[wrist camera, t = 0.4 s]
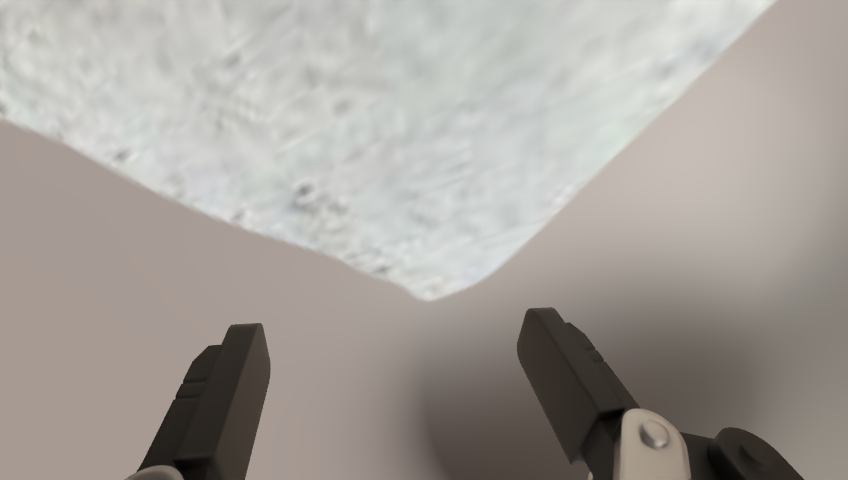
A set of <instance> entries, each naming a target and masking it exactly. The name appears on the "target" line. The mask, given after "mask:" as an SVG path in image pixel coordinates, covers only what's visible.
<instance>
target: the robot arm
mask: <svg viewBox="0 0 848 480" xmlns="http://www.w3.org/2000/svg"><path fill="white" fill-rule="evenodd" d="M517 352H518V358H519V360H520V363H521V365H522V367H523V369H524V371H525V373H526V375H527V377H528V379H529V381H530V383H531V385H532V387H533V389H534V391H535V393H536V395H537V397H538V399H539V402H540V403H541V406H542V408H543V410H544V412H545V414H546V416H547V418H548V419H549V422H550V424H551V426H552V428H553V430H554V432H555V434H556V436H557V438H558V440H559V442H560V444H561V446H562V448H563V450H564V452H565V454H566V456H567V458H568V460H569V462H570V464H571V465H572V464H579V463H586V464H587V466H588V467H589V469H590V471H591V472H590V474H589V476H588V480H804V479H803V478H802V477H801V476H800V475H799V474H798V473H797V472H796V471H795V470H794V469H793V467H792V466H791V465H790V464H789V463H788V462H787V461H786V460H785V459H784V458H783V457H782V456H781V455H780V454H779V453H778V452H777V451H776V450H775V449H774V448H773V447H772V446H771V445H769V444H768V443H767V442H765V441H764V440H762V439H761V438H759V437H758V436H756V435H754V434H752V433H750V432H747V431H745V430H742V429H739V428H731V427H730V428H725V429H722V430H721V431H720V432H719V433H718V435H717V436H716V437H715V438H714V439H711V438H706V437H702V436H697V435H691V434H687V433H682V432H678V430H676V428H675V427H674V426H673V425H672V424H671V423H669V422H668V421H667V420H665V419H664V418H663V417H661V416H659V415H658V414H656V413H654V412H651V411H648V410H645V409H641V408H640V407H639V405H638V404H637V403H636V402H635V400H634V399H633V397H632V396H631V395H630V394H629V392H628V391H627V390H626V388H625V387H624V386H623V384H622V383H621V382H620V380H619V379H618V378H617V376H616V375H615V374H614V372H613V371H612V370H611V368H610V367H609V366H608V364H607V363H606V362H604V361H603V358H602V356H601V355H600V354H599V353H598V351H596V350H595V347H594V346H593V344H592V343H591V342H590V340H589V339H588V338H587V336H586V335H585V334H584V333H582V332H581V331H580V330H579V329H577V328H576V327H575V326H574V325H572V324H571V323H565V322H564V321H563V319H562V318H561V317H560V315H559V314H558V312H557V311H556V310H555V309H554V308H552V307H549V308H531V309H528V310H527V312H526V314H525V318H524V321H523V325H522V328H521V332H520V335H519V339H518V342H517ZM269 379H270V358H269V353H268V348H267V344H266V339H265V334H264V330H263V326H262V324H261V323H255V324H236V325H231V326H230V327H229V329H228V331H227V333H226V336H225V338H224V340H223V343H222V345H212V346H208V347H207V348H206V349H205V350H204V351H203V352H202V353H201V354H200V355H199V356H198V357H197V358H196V359H195V360H194V361H193V362H192V364H191V366H190V368H189V370H188V372H187V374H186V376H185V378H184V380H183V384H181V386H180V388H179V390H178V392H177V394H176V399H175V400H173V402H172V404H171V406H170V408H169V410H168V412H167V414H166V416H165V418H164V420H163V422H162V424H161V426H160V428H159V430H158V432H157V435H156V436H155V438H154V440H153V442H152V445H151V447H150V448H149V450H148V452H147V454H146V456H145V458H144V460H143V462H142V464H141V466H140V467H139V469H138V470H137V472H136V473H134V474H133V475H131V476H129V477H128V478H126V479H125V480H245V476H246V473H247V468H248V464H249V461H250V456H251V452H252V448H253V444H254V440H255V436H256V432H257V428H258V424H259V420H260V416H261V412H262V408H263V404H264V400H265V396H266V392H267V388H268V384H269Z"/></svg>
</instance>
